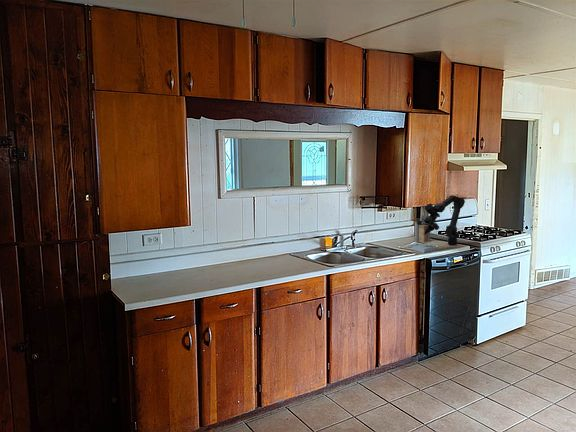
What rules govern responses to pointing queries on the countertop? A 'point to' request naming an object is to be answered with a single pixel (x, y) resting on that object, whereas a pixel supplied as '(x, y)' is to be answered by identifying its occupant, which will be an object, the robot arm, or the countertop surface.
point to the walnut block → (423, 233)
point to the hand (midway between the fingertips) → (422, 233)
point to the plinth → (424, 248)
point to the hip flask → (418, 232)
